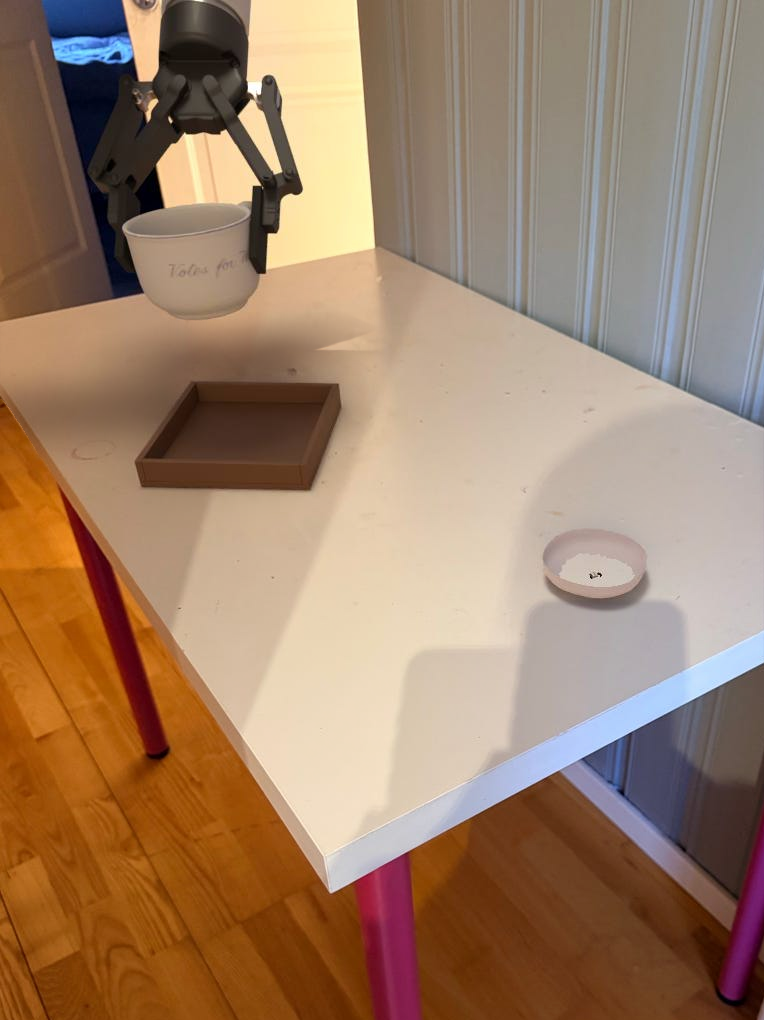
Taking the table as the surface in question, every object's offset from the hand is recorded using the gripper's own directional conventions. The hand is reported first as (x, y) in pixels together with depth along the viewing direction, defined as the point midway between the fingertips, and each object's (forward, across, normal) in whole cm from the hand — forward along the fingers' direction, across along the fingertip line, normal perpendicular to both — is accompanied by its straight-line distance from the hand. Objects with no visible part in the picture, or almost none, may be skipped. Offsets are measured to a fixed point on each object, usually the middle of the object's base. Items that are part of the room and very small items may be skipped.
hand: (191, 265), depth 79 cm
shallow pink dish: (+27, -34, +4) cm, 44 cm away
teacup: (+1, -1, -5) cm, 5 cm away
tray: (+12, -3, -11) cm, 16 cm away
